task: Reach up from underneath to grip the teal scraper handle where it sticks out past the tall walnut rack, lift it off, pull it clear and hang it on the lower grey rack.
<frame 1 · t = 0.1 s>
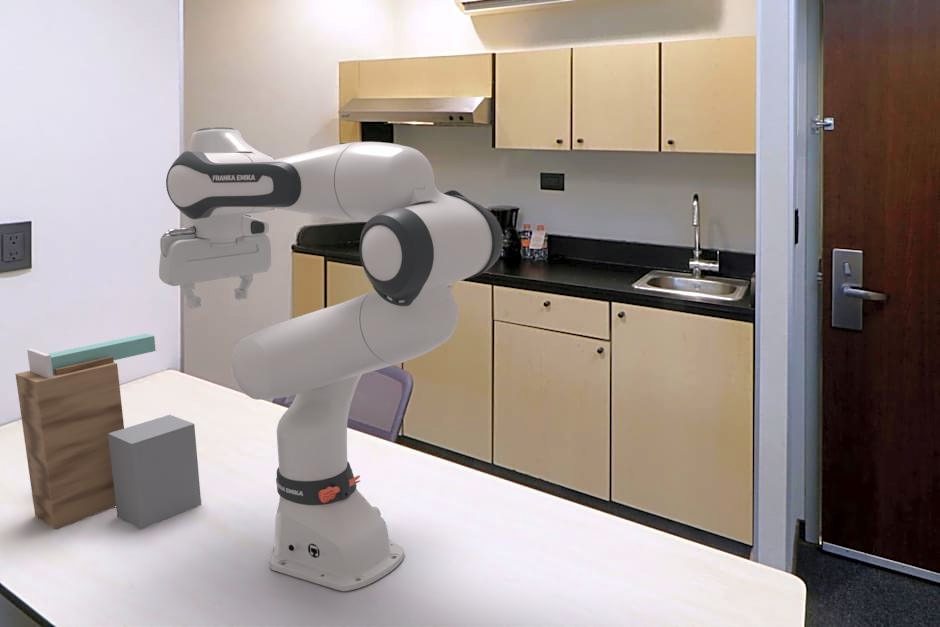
hand: (218, 303, 132), 39 cm above the table, tool pointing down, fingers open, 8 cm apart
tall rack: (84, 508, 140), on the table
scraper: (100, 361, 139), point 27 cm above the table, touching tall rack
low rack: (159, 510, 139), on the table
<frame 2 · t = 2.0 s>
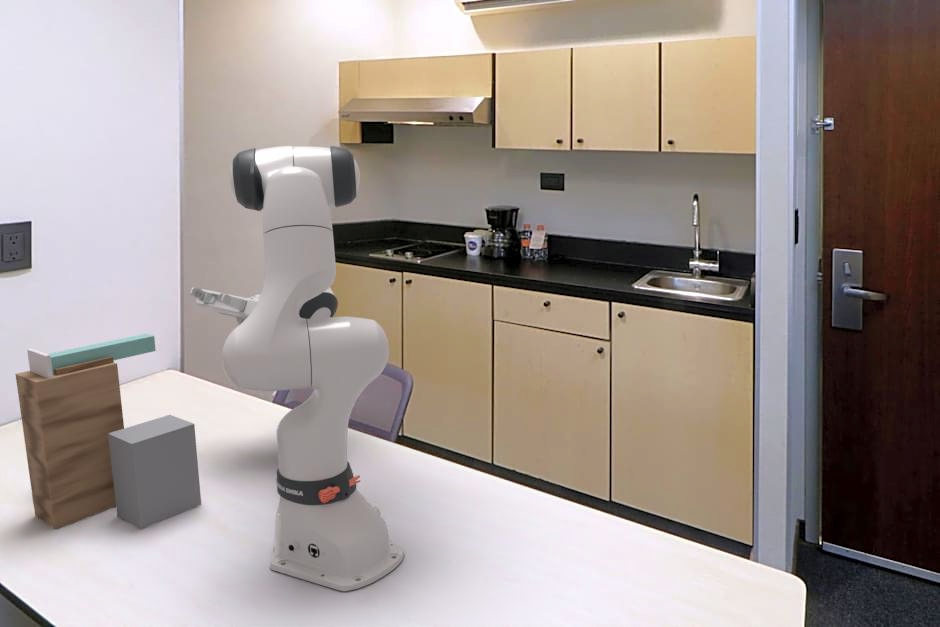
hand: (206, 294, 149), 37 cm above the table, tool pointing upward, fingers open, 8 cm apart
nothing on the table moved.
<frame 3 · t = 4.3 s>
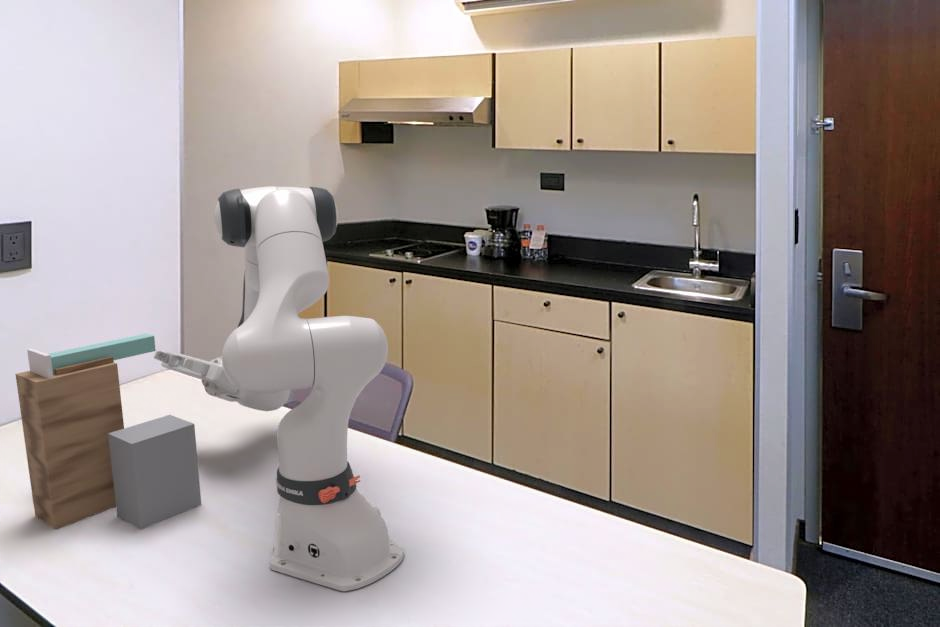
hand: (169, 358, 150), 24 cm above the table, tool pointing upward, fingers open, 8 cm apart
nothing on the table moved.
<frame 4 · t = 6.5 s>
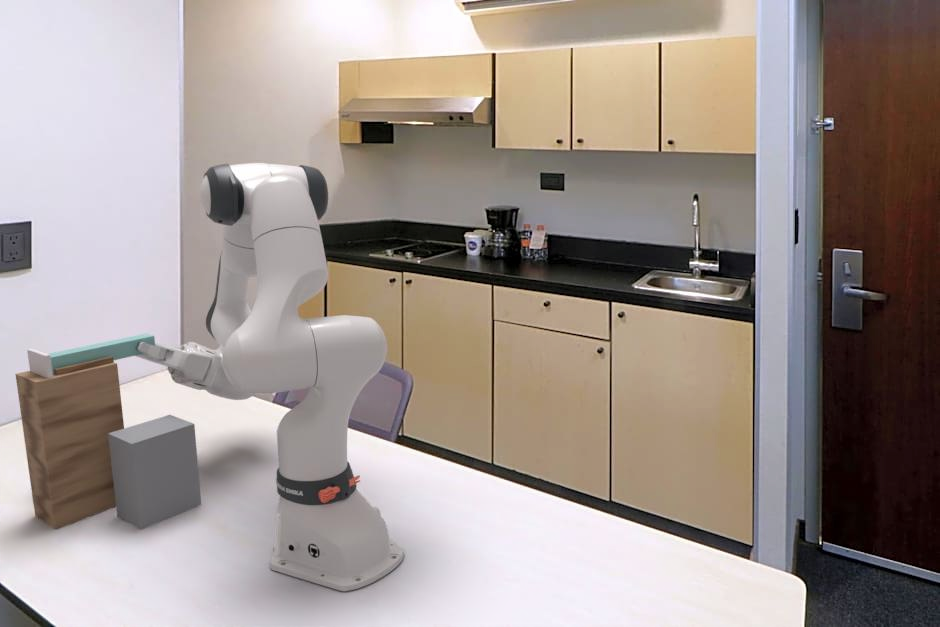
hand: (132, 343, 143), 29 cm above the table, tool pointing upward, fingers closed on scraper, 3 cm apart
scraper: (100, 361, 139), point 27 cm above the table, touching gripper, tall rack
everything else where it was.
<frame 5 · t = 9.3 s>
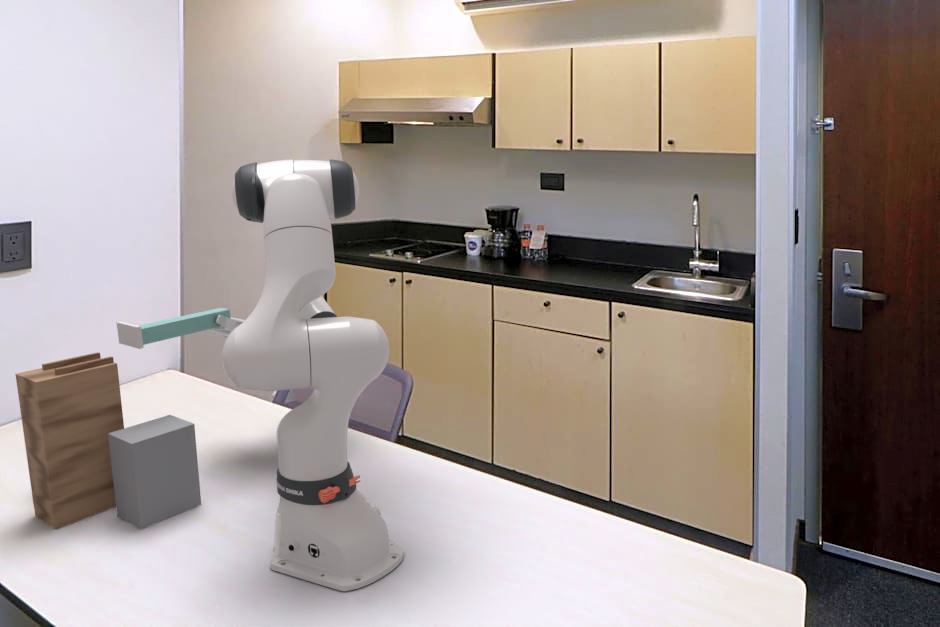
hand: (209, 317, 150), 32 cm above the table, tool pointing upward, fingers closed on scraper, 3 cm apart
scraper: (182, 333, 146), point 30 cm above the table, touching gripper
everything else where it was.
when the fingers open (19 cm above the table, at t = 12.3 s): scraper drops 1 cm, resting on low rack.
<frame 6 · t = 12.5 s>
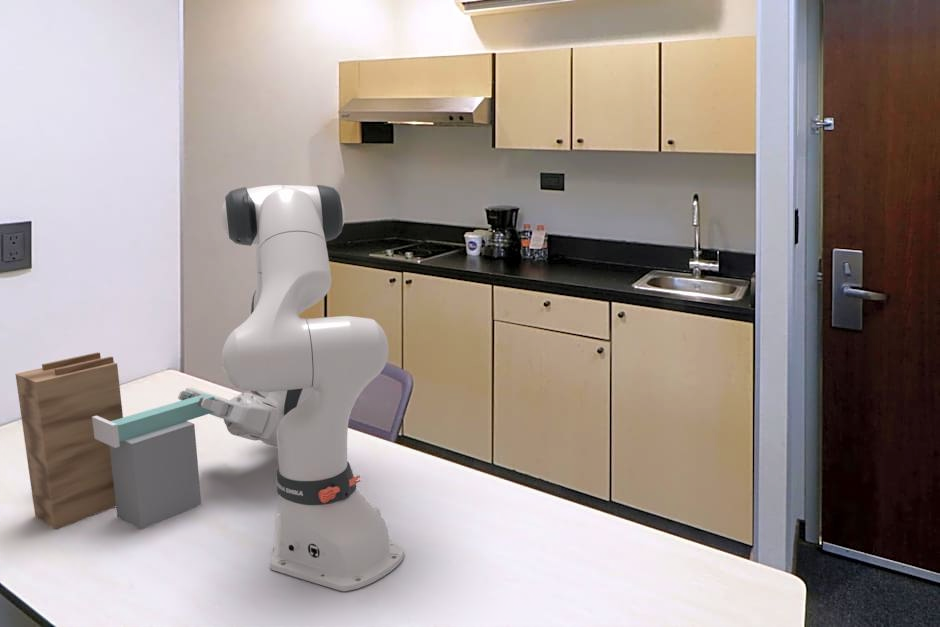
hand: (191, 398, 141), 19 cm above the table, tool pointing upward, fingers open, 5 cm apart
scraper: (162, 425, 137), point 16 cm above the table, touching low rack
everything else where it was.
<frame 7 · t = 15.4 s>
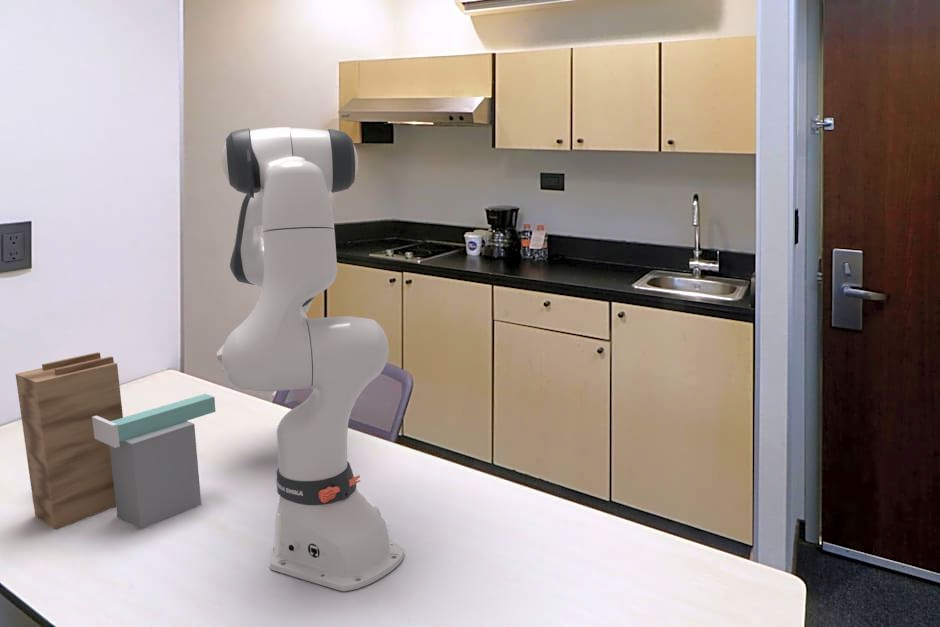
hand: (245, 367, 148), 23 cm above the table, tool tilted 65°, fingers open, 8 cm apart
nothing on the table moved.
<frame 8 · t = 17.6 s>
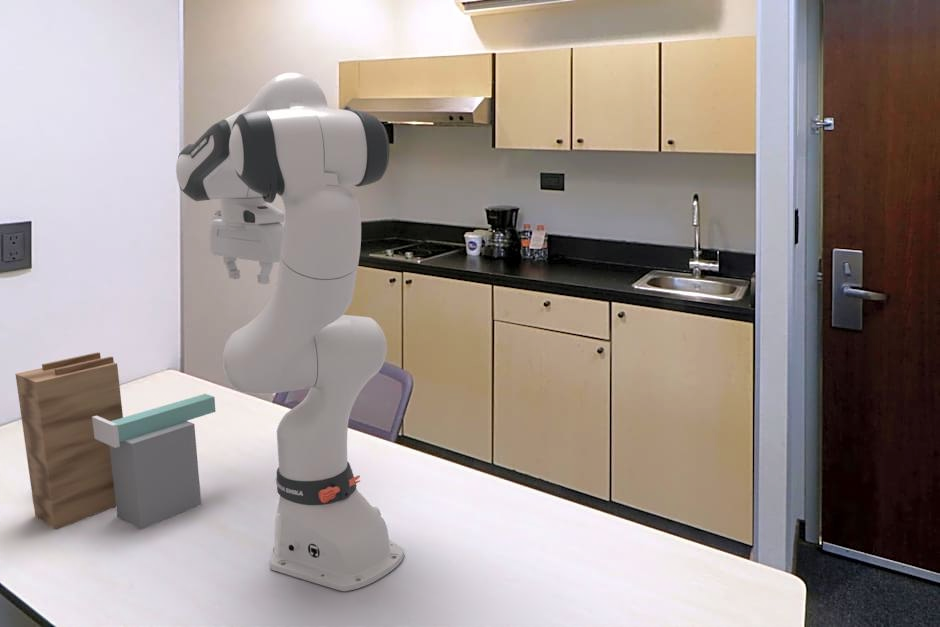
hand: (248, 281, 152), 39 cm above the table, tool pointing down, fingers open, 8 cm apart
nothing on the table moved.
at the end: scraper inside the target area (0.7 cm from its centre), point 16.0 cm above the table; scraper touching low rack; the gripper is holding nothing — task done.
